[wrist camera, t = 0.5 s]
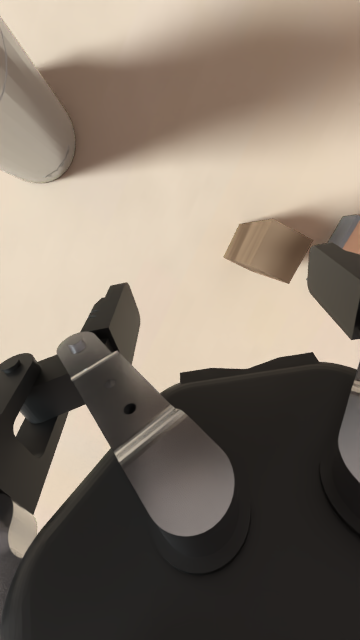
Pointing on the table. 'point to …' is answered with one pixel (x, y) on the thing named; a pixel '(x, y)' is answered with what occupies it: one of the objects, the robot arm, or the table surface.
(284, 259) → the brown block
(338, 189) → the table surface
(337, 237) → the lower slab
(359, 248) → the upper slab
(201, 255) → the table surface
